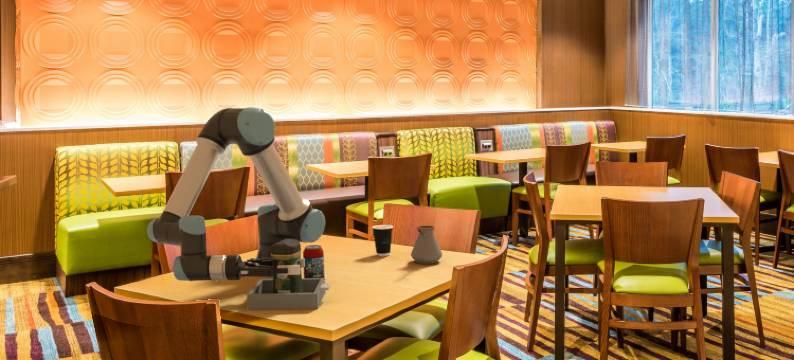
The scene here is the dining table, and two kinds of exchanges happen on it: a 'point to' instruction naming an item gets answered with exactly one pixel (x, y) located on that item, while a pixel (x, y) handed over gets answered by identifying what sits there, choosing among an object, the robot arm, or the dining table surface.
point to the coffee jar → (287, 255)
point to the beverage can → (313, 261)
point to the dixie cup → (382, 239)
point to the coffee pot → (426, 246)
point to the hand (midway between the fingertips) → (302, 266)
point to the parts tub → (287, 296)
